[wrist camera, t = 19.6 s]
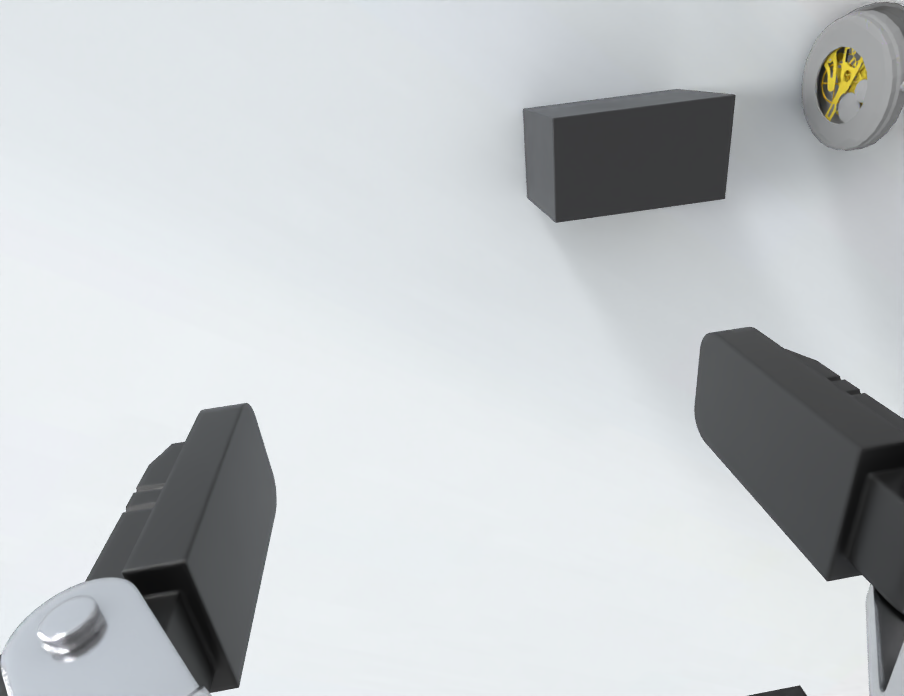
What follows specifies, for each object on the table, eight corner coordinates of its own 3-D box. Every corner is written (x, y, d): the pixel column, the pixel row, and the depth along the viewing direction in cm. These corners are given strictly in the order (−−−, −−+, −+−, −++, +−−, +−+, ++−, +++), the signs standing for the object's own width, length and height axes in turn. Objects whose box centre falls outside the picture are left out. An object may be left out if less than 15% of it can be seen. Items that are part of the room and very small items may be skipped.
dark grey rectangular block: (669, 177, 36) (525, 197, 35) (674, 88, 34) (521, 108, 33) (725, 199, 30) (555, 223, 30) (736, 94, 28) (552, 118, 27)
